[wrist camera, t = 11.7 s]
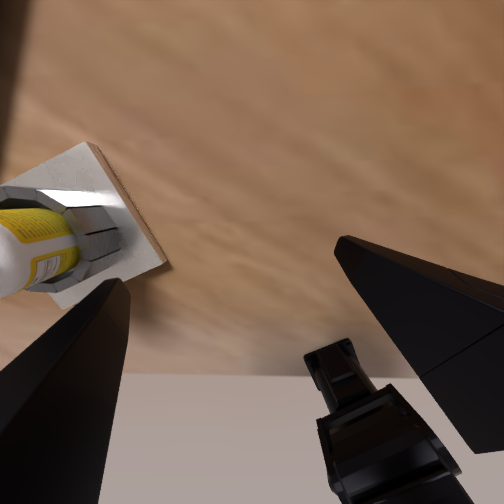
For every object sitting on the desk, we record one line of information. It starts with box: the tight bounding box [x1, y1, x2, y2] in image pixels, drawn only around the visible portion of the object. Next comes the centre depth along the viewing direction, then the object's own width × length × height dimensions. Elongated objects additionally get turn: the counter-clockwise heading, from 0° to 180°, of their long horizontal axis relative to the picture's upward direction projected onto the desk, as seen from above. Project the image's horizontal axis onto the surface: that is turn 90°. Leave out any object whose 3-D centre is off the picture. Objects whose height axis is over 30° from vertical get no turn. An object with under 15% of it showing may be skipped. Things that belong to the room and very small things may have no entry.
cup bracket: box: [0, 141, 167, 310], centre depth 16 cm, size 12×12×5 cm
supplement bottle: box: [0, 208, 80, 298], centre depth 13 cm, size 5×5×10 cm
